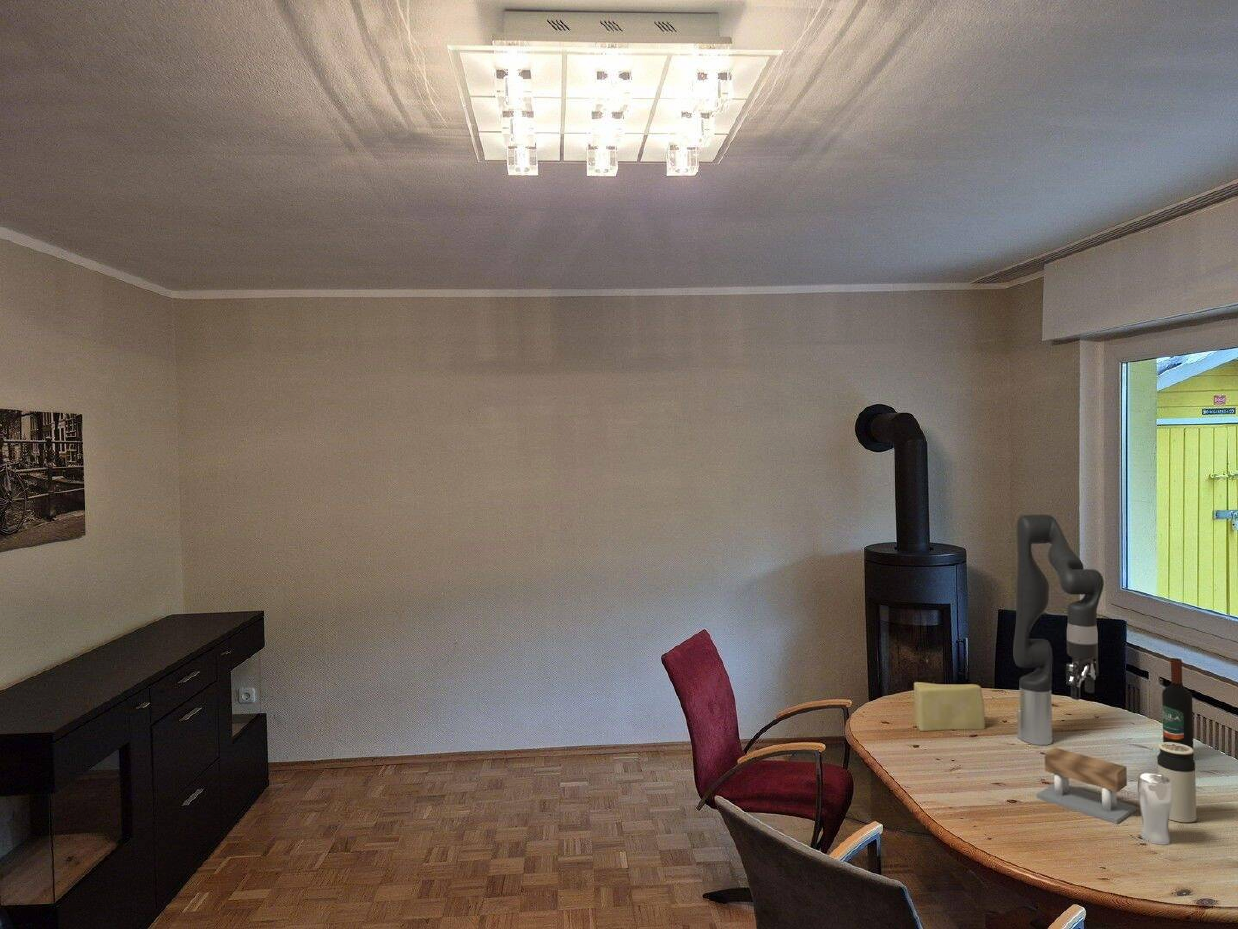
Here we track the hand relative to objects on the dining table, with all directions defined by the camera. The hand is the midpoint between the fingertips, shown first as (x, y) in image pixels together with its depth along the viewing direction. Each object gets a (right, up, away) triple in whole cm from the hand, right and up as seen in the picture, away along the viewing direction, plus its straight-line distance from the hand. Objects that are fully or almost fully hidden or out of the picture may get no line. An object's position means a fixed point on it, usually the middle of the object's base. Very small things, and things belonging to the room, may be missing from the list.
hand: (1082, 695), depth 222 cm
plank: (-6, -19, -11) cm, 23 cm away
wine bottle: (+40, -24, +18) cm, 50 cm away
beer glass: (0, -26, -30) cm, 40 cm away
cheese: (-17, -26, +49) cm, 58 cm away
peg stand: (-6, -26, -11) cm, 29 cm away
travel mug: (+13, -26, -19) cm, 35 cm away
